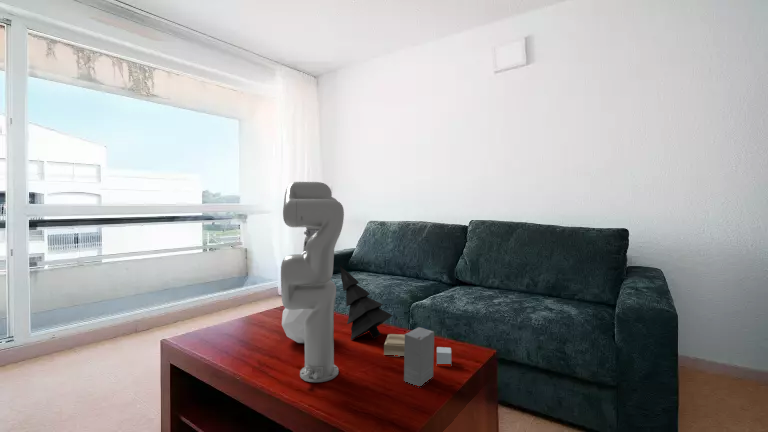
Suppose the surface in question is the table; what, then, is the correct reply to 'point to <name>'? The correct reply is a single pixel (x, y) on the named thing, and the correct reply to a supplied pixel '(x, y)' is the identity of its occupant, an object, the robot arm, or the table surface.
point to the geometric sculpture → (295, 323)
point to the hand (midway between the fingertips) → (315, 274)
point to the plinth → (394, 345)
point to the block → (443, 355)
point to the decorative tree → (362, 308)
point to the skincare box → (418, 356)
